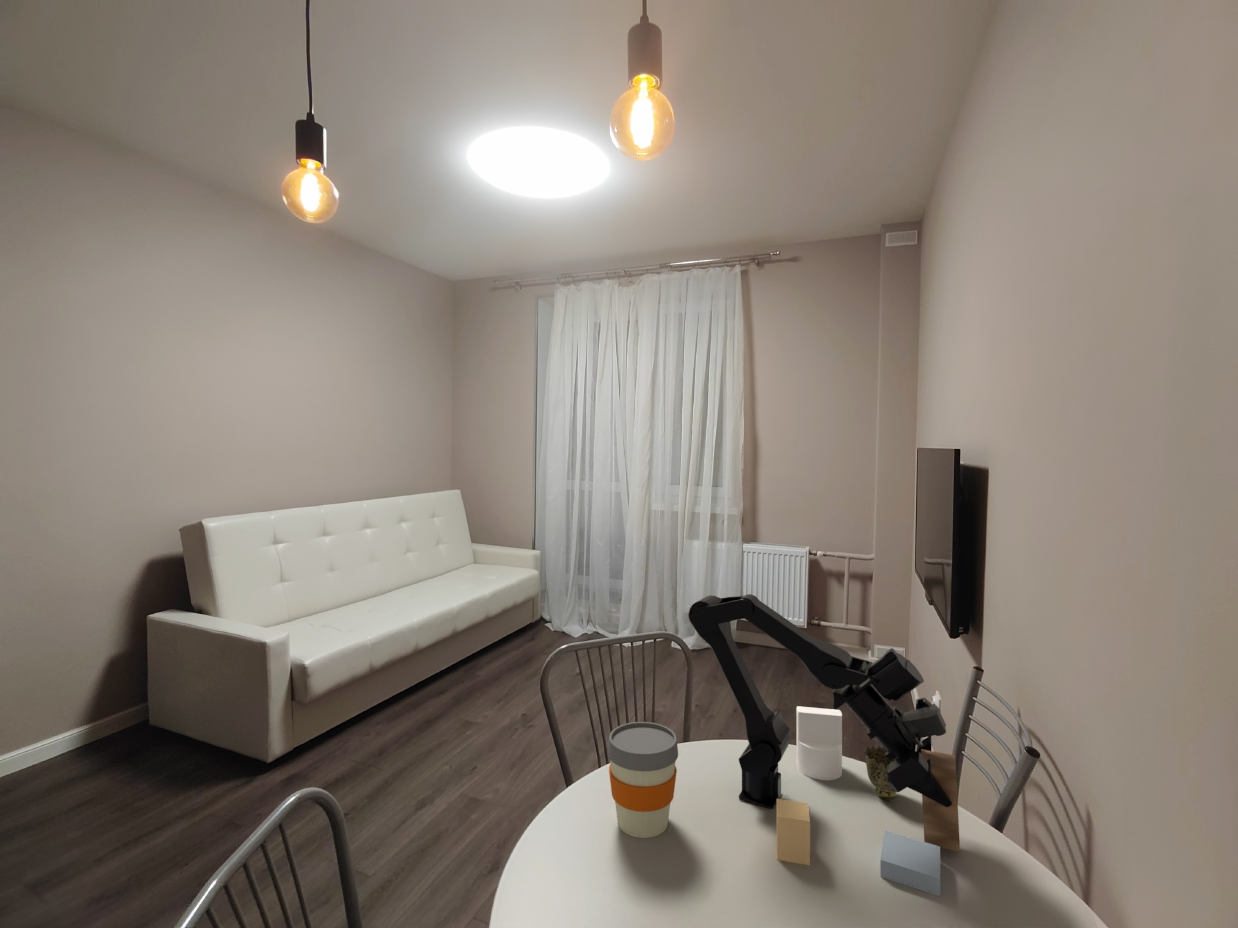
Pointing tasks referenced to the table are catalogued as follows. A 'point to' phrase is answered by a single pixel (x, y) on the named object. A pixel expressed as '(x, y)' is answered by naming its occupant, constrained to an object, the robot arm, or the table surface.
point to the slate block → (911, 862)
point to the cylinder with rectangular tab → (819, 742)
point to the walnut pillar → (936, 817)
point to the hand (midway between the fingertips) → (949, 796)
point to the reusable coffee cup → (642, 776)
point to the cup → (879, 771)
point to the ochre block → (793, 832)
